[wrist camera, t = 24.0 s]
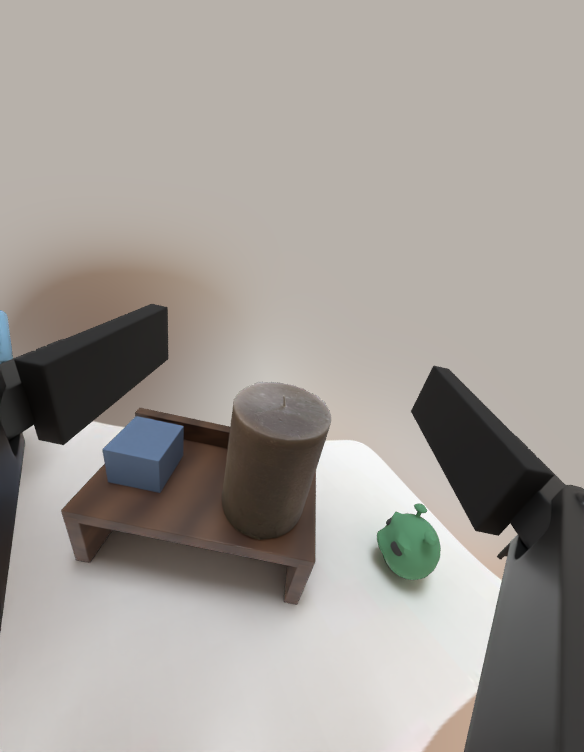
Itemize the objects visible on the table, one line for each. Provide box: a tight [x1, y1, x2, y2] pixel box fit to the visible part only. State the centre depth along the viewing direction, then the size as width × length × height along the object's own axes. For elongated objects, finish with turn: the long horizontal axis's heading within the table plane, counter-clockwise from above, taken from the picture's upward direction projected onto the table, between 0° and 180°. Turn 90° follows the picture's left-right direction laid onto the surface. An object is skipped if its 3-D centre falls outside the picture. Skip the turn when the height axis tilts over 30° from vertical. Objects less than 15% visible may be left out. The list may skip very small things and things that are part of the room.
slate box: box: [103, 416, 184, 493], centre depth 32 cm, size 6×6×5 cm
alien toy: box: [377, 504, 440, 580], centre depth 36 cm, size 7×8×10 cm
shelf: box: [61, 408, 316, 604], centre depth 35 cm, size 26×14×12 cm, turn 86°
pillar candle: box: [222, 382, 331, 540], centre depth 29 cm, size 10×10×15 cm
